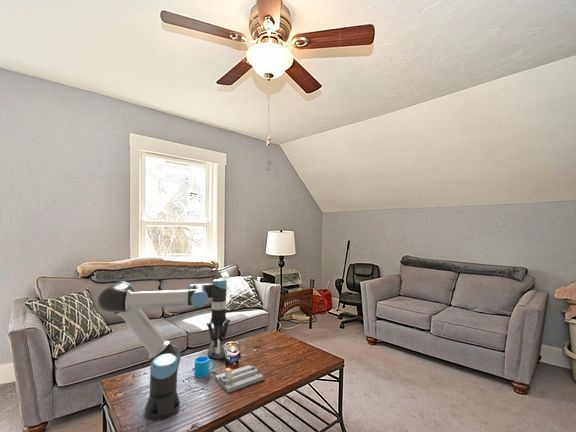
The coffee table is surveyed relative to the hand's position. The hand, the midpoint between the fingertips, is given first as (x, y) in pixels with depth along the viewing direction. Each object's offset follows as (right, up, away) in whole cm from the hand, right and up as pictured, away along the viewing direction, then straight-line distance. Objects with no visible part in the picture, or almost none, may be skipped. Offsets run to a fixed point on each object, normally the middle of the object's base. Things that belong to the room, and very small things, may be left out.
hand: (217, 352), depth 155 cm
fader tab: (+5, -17, +4) cm, 18 cm away
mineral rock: (-8, -20, +33) cm, 39 cm away
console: (+10, -19, +8) cm, 23 cm away
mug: (-11, -19, +14) cm, 26 cm away
